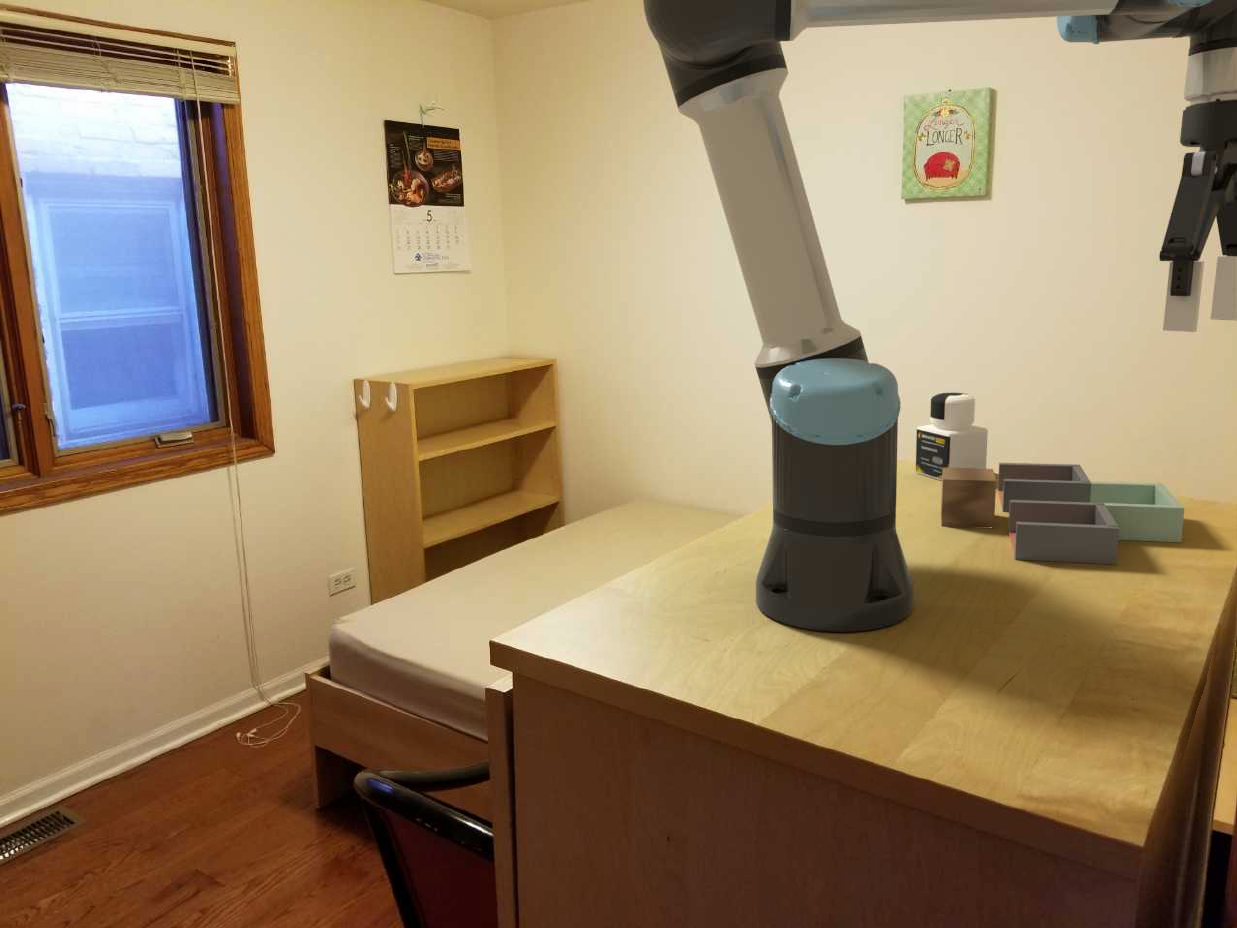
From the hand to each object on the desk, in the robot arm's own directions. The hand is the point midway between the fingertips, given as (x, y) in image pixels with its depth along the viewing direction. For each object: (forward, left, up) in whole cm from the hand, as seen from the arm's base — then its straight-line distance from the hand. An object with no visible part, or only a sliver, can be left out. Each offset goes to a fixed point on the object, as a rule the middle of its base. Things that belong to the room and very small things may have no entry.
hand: (1203, 325), depth 97 cm
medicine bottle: (-23, +35, -25) cm, 49 cm away
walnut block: (-21, +12, -25) cm, 35 cm away
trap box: (-8, +12, -25) cm, 29 cm away
